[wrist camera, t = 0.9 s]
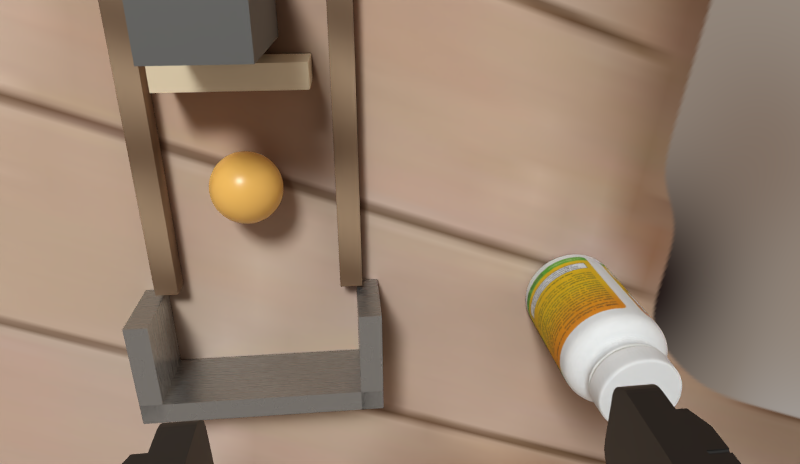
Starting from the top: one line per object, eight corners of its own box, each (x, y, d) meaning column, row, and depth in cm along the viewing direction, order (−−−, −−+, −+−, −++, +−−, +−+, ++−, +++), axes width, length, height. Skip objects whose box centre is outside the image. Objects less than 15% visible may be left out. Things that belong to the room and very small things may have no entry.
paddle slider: (145, -56, 27) (59, -66, 18) (304, -56, 27) (289, -66, 19) (167, 81, 29) (100, 125, 21) (312, 78, 30) (302, 120, 21)
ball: (212, 143, 31) (196, 165, 27) (283, 141, 31) (276, 162, 28) (220, 209, 32) (207, 236, 29) (288, 206, 32) (283, 233, 29)
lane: (96, -61, 26) (86, -62, 25) (350, -61, 27) (350, -62, 26) (161, 284, 34) (155, 295, 32) (361, 275, 34) (362, 285, 33)
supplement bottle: (509, 316, 37) (563, 428, 28) (547, 240, 35) (619, 334, 26) (585, 338, 38) (660, 452, 29) (626, 266, 36) (720, 364, 27)
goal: (145, 290, 34) (122, 329, 30) (377, 279, 35) (381, 315, 31) (163, 377, 36) (143, 423, 32) (379, 364, 37) (383, 407, 33)
